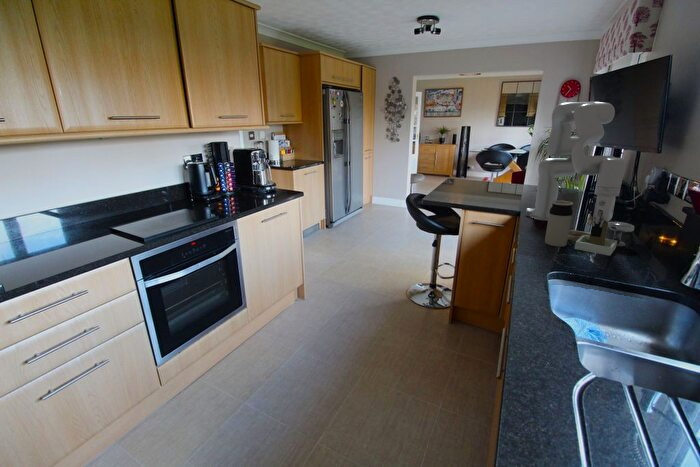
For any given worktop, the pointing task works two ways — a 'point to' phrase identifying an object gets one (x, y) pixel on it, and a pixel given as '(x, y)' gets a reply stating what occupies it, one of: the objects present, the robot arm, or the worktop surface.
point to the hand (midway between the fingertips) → (598, 233)
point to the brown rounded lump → (599, 239)
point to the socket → (577, 233)
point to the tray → (596, 246)
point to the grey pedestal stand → (619, 231)
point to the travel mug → (559, 223)
